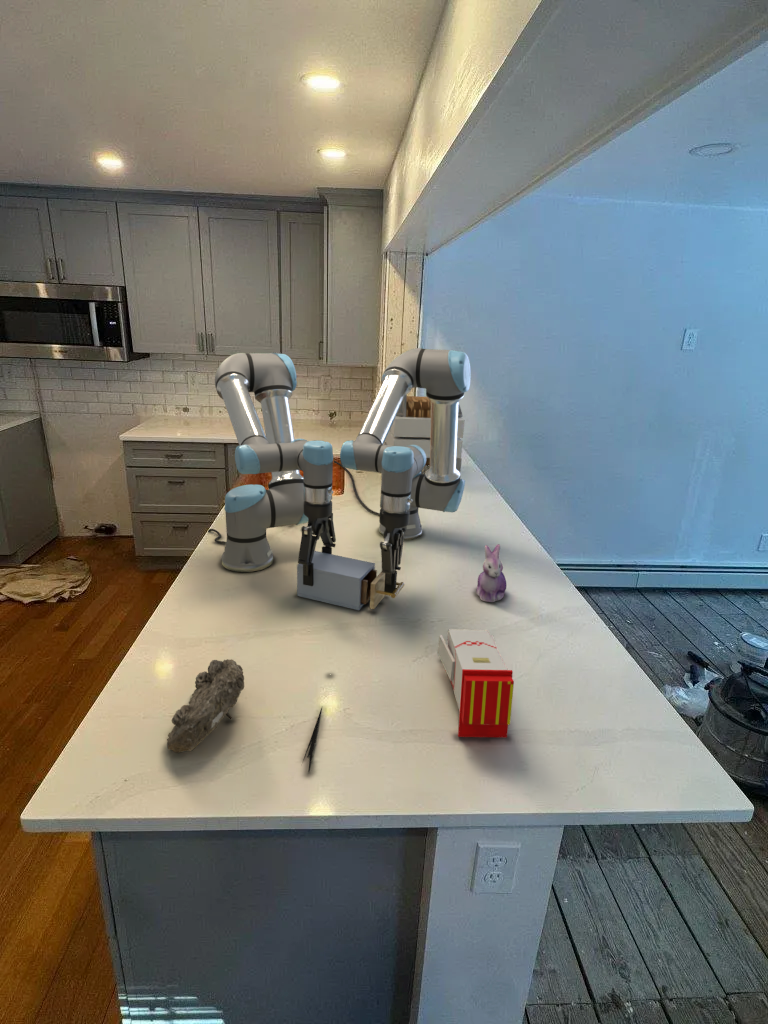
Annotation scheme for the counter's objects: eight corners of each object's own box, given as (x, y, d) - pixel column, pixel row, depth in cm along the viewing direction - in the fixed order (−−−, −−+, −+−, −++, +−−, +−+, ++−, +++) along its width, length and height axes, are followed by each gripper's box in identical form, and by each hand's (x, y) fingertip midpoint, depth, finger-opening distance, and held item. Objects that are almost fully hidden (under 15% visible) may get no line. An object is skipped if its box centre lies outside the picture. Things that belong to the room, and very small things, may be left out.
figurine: (488, 606, 153) (494, 555, 148) (466, 590, 161) (471, 541, 156) (515, 600, 157) (522, 550, 152) (493, 584, 166) (498, 536, 160)
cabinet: (373, 593, 158) (375, 563, 154) (358, 610, 148) (360, 578, 145) (314, 580, 163) (314, 550, 160) (297, 595, 154) (296, 564, 151)
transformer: (382, 463, 289) (386, 382, 275) (445, 464, 293) (451, 384, 279) (390, 482, 257) (394, 392, 243) (460, 483, 261) (468, 394, 247)
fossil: (192, 660, 117) (244, 628, 112) (224, 691, 120) (276, 661, 115) (142, 746, 98) (202, 712, 93) (182, 779, 101) (242, 748, 96)
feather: (331, 679, 122) (336, 673, 122) (307, 777, 96) (313, 769, 95) (324, 675, 122) (329, 669, 121) (298, 772, 95) (304, 764, 95)
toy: (488, 613, 130) (523, 677, 101) (484, 667, 133) (517, 744, 104) (435, 612, 130) (455, 676, 101) (432, 666, 133) (451, 743, 103)
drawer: (404, 598, 154) (406, 573, 151) (393, 614, 146) (394, 588, 143) (330, 581, 161) (330, 558, 158) (315, 595, 153) (315, 571, 150)
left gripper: (310, 516, 137) (310, 597, 145) (348, 490, 158) (347, 563, 165) (283, 511, 140) (284, 591, 147) (324, 486, 160) (324, 558, 168)
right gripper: (400, 519, 134) (394, 607, 143) (417, 504, 146) (411, 585, 154) (371, 514, 137) (367, 600, 145) (390, 499, 148) (385, 580, 156)
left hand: (317, 576), depth 156 cm, fingers closed on cabinet, 10 cm apart
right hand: (389, 593), depth 149 cm, fingers closed
